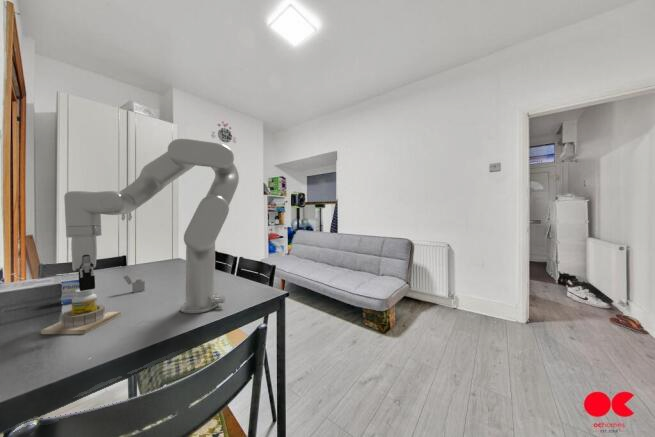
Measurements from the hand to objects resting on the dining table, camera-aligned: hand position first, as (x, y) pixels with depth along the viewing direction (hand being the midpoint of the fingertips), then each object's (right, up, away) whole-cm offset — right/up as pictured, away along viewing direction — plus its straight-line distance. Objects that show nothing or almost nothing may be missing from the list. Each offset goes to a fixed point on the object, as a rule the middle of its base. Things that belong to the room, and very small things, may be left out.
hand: (86, 286), depth 72 cm
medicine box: (-23, -11, +18) cm, 31 cm away
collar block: (-1, -12, 0) cm, 12 cm away
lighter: (-9, -11, +29) cm, 32 cm away
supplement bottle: (-1, -11, 0) cm, 11 cm away
